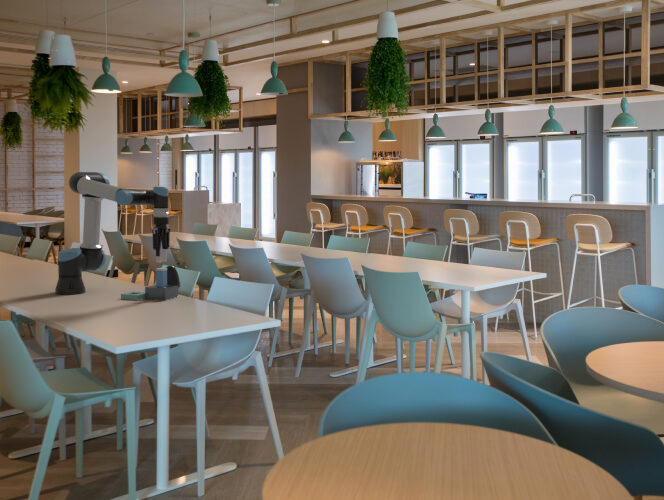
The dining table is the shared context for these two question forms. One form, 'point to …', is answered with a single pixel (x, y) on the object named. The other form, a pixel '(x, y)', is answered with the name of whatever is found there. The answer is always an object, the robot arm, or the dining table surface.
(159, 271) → the plug
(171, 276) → the black egg shape
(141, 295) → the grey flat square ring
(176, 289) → the port
